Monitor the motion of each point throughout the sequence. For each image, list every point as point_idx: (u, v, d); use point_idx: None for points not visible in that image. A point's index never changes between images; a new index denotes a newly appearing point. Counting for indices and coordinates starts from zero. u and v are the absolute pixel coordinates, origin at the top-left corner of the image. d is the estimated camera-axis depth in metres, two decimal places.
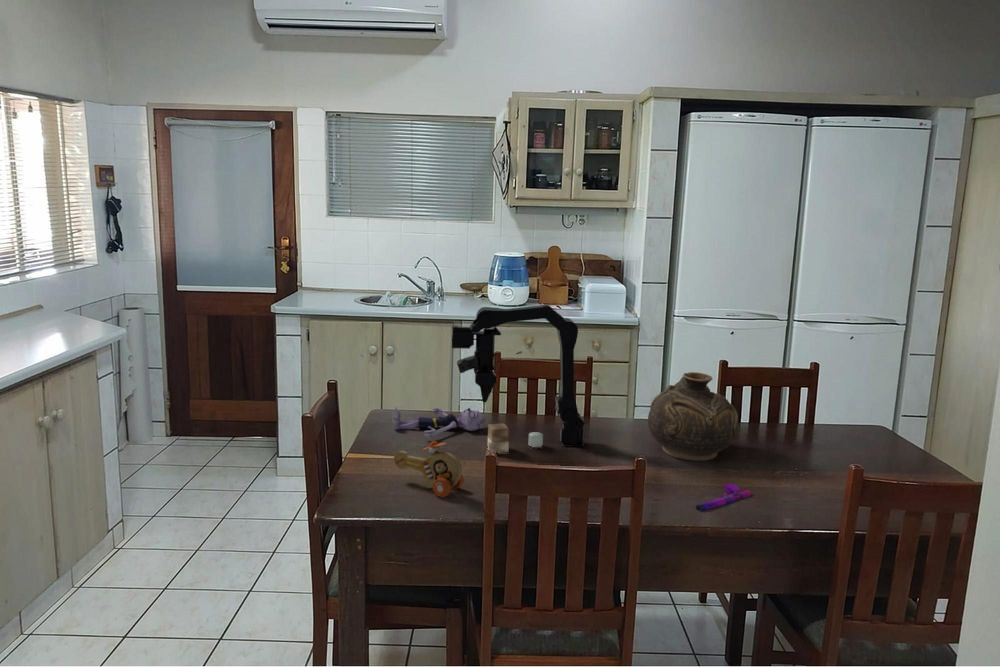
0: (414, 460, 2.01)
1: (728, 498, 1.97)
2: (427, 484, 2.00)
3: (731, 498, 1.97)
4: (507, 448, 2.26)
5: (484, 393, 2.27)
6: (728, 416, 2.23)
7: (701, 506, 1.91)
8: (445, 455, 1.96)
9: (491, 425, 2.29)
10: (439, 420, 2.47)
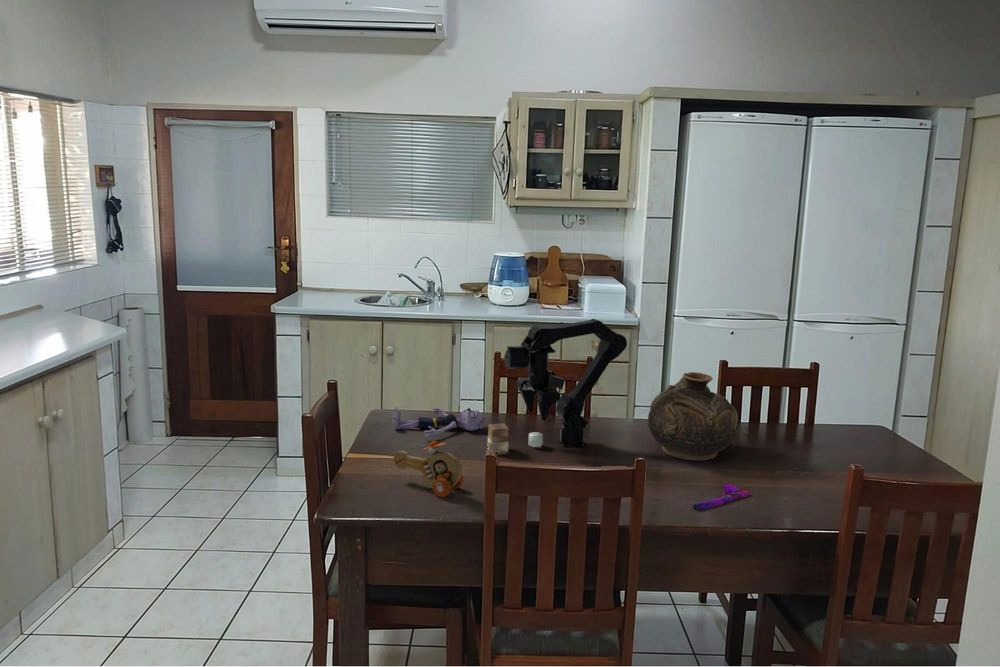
0: (414, 460, 2.01)
1: (726, 498, 1.97)
2: (427, 484, 2.00)
3: (729, 498, 1.97)
4: (507, 448, 2.26)
5: None
6: (728, 416, 2.23)
7: (698, 506, 1.91)
8: (445, 455, 1.96)
9: (491, 425, 2.29)
10: (439, 420, 2.47)
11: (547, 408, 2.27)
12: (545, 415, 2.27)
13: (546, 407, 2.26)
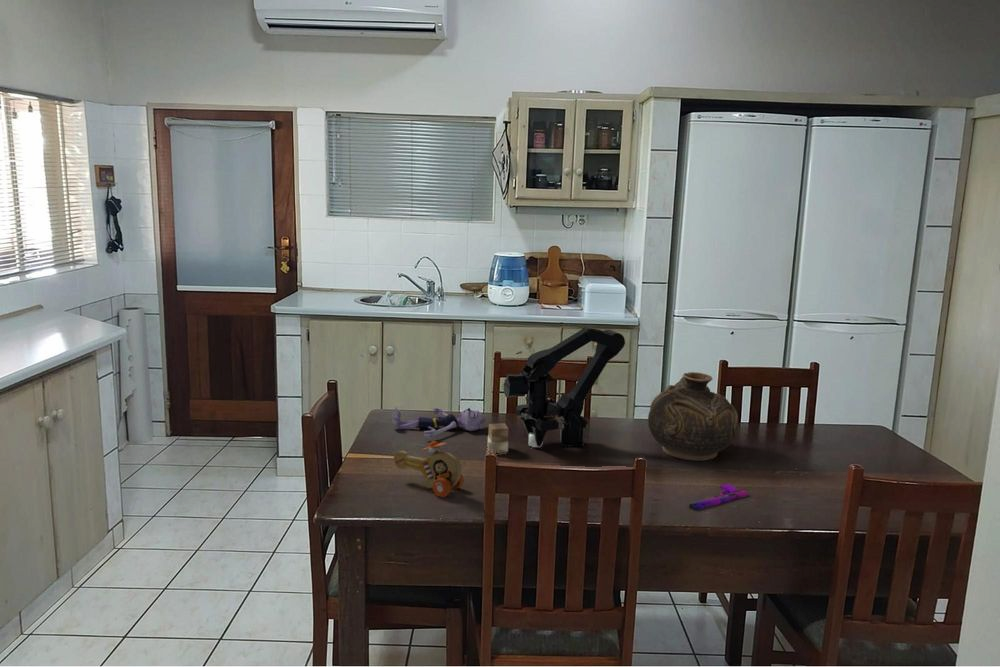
0: (414, 460, 2.01)
1: (723, 498, 1.97)
2: (427, 484, 2.00)
3: (726, 498, 1.97)
4: (507, 448, 2.26)
5: None
6: (728, 416, 2.23)
7: (694, 505, 1.91)
8: (445, 455, 1.96)
9: (491, 425, 2.29)
10: (439, 420, 2.47)
11: (542, 434, 2.30)
12: (540, 441, 2.31)
13: (541, 433, 2.30)
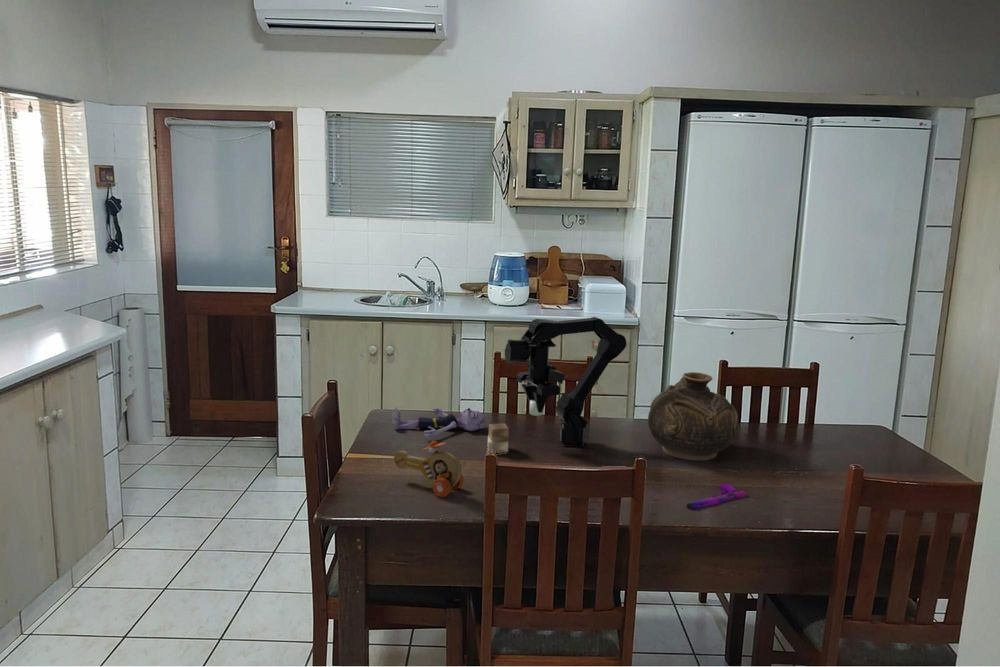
0: (414, 460, 2.01)
1: (721, 498, 1.97)
2: (427, 484, 2.00)
3: (724, 498, 1.97)
4: (507, 448, 2.26)
5: None
6: (728, 416, 2.23)
7: (691, 505, 1.91)
8: (445, 455, 1.96)
9: (491, 425, 2.29)
10: (439, 420, 2.47)
11: (544, 400, 2.28)
12: (541, 407, 2.29)
13: (543, 399, 2.28)
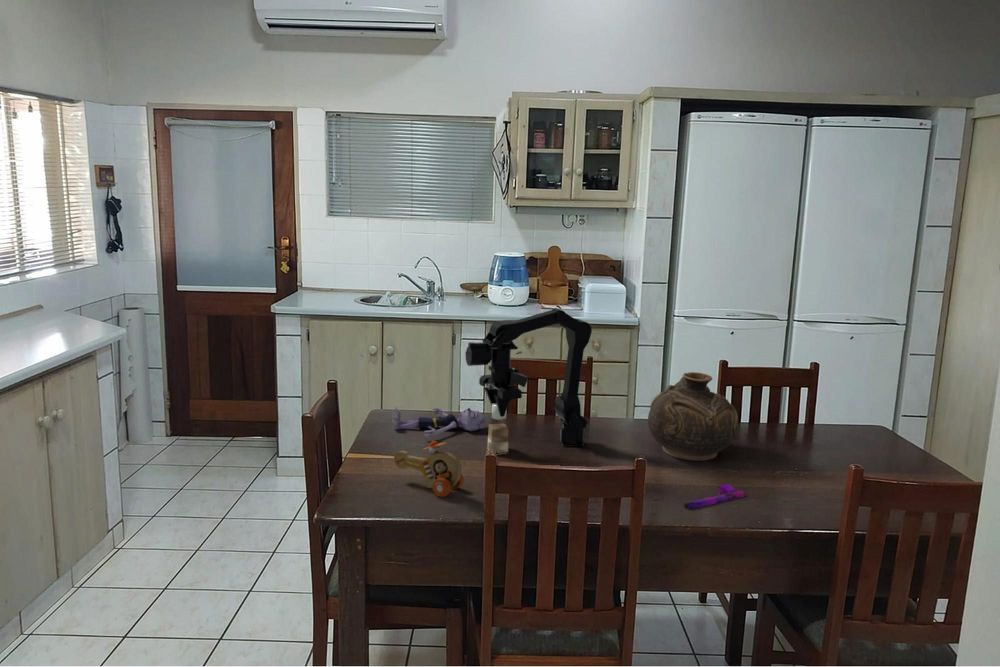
0: (414, 460, 2.01)
1: (719, 498, 1.97)
2: (427, 484, 2.00)
3: (723, 498, 1.97)
4: (507, 448, 2.26)
5: None
6: (728, 416, 2.23)
7: (689, 504, 1.92)
8: (445, 455, 1.96)
9: (491, 425, 2.29)
10: (439, 420, 2.47)
11: (505, 404, 2.23)
12: (503, 411, 2.24)
13: (504, 403, 2.23)
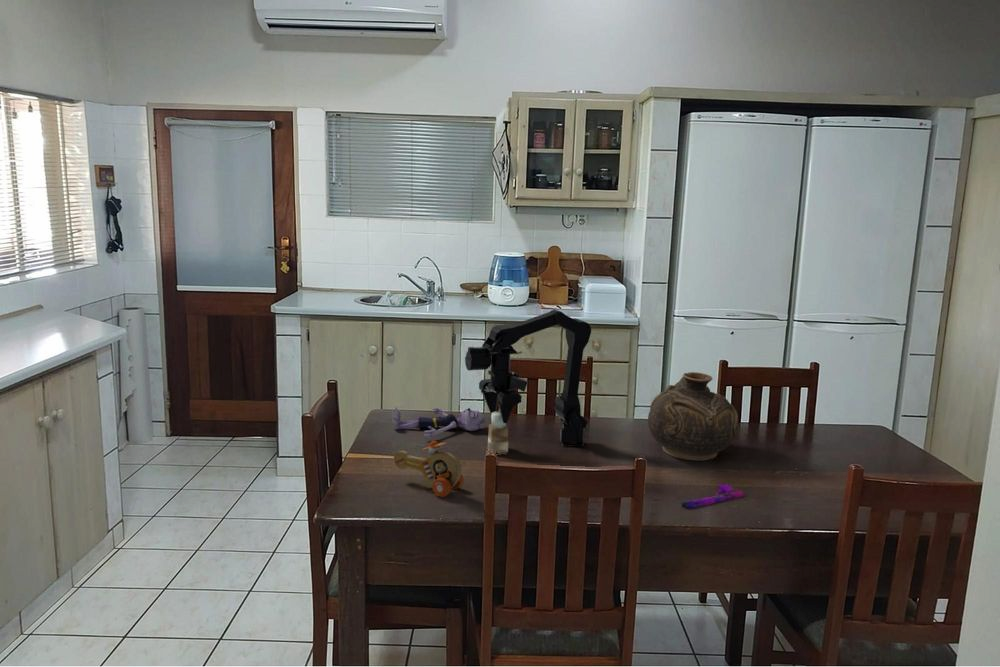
0: (414, 460, 2.01)
1: (717, 498, 1.97)
2: (427, 484, 2.00)
3: (721, 498, 1.97)
4: (507, 448, 2.26)
5: None
6: (728, 416, 2.23)
7: (686, 504, 1.92)
8: (445, 455, 1.96)
9: None
10: (439, 420, 2.47)
11: (508, 410, 2.22)
12: (506, 417, 2.23)
13: (507, 409, 2.22)
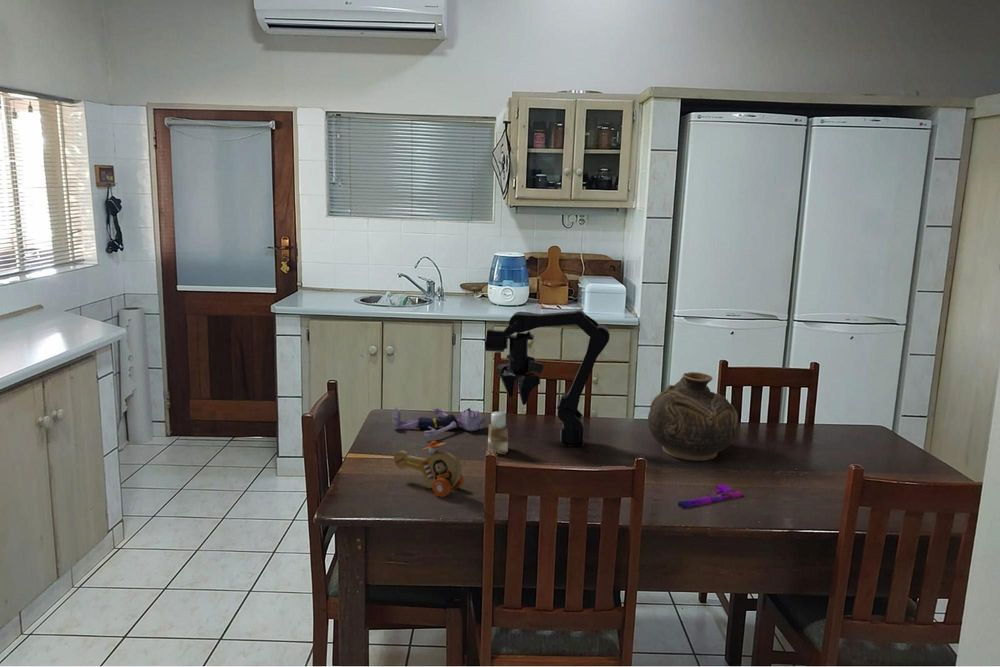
0: (414, 460, 2.01)
1: (715, 497, 1.97)
2: (427, 484, 2.00)
3: (718, 498, 1.97)
4: (506, 448, 2.26)
5: None
6: (728, 416, 2.23)
7: (683, 503, 1.92)
8: (445, 455, 1.96)
9: None
10: (439, 420, 2.47)
11: (527, 392, 2.32)
12: (526, 399, 2.33)
13: (526, 391, 2.32)
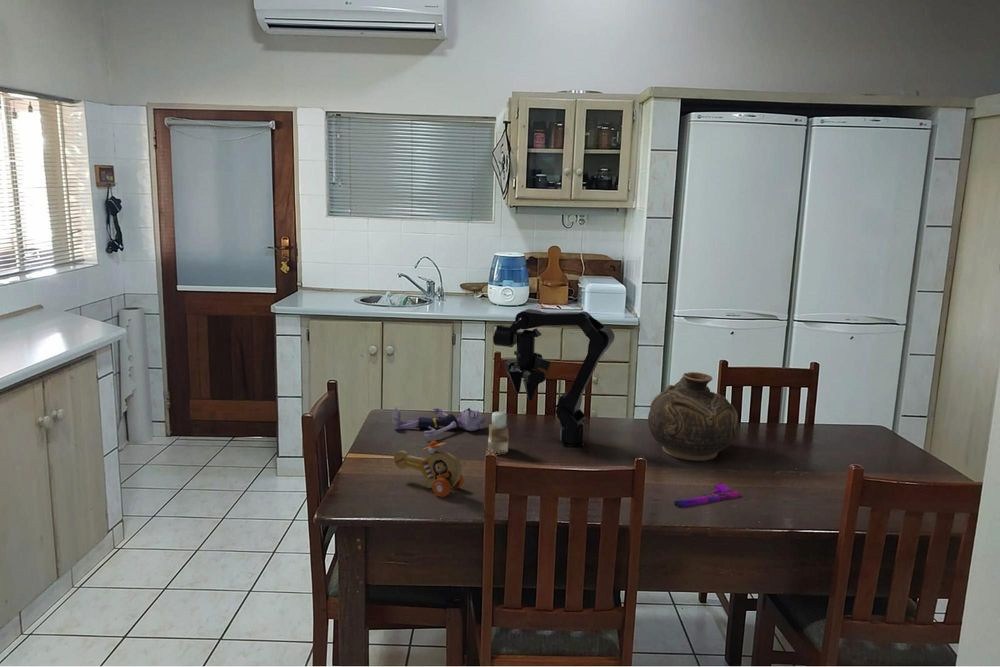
0: (414, 460, 2.01)
1: (712, 497, 1.97)
2: (427, 484, 2.00)
3: (715, 497, 1.97)
4: (506, 448, 2.26)
5: None
6: (728, 416, 2.23)
7: (679, 502, 1.93)
8: (445, 455, 1.96)
9: None
10: (439, 420, 2.47)
11: (533, 388, 2.36)
12: (531, 395, 2.37)
13: (532, 387, 2.36)
